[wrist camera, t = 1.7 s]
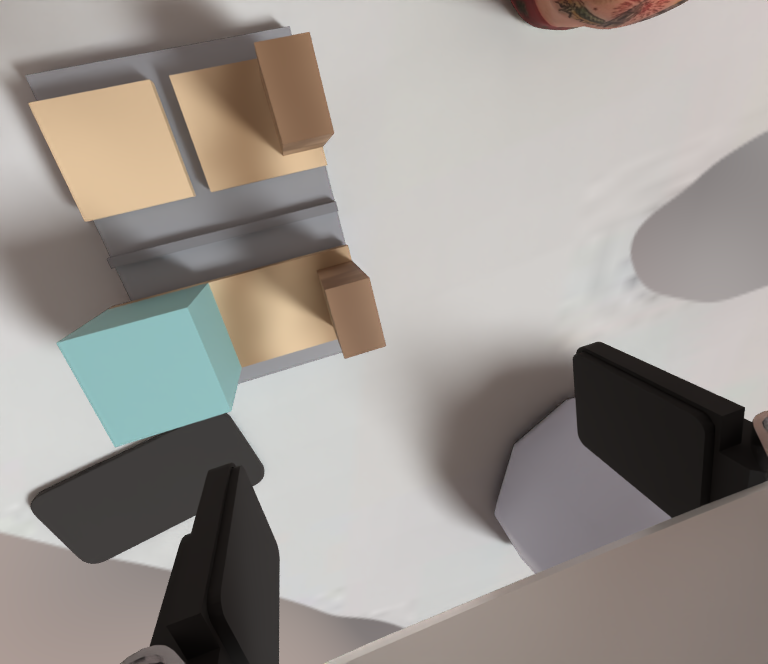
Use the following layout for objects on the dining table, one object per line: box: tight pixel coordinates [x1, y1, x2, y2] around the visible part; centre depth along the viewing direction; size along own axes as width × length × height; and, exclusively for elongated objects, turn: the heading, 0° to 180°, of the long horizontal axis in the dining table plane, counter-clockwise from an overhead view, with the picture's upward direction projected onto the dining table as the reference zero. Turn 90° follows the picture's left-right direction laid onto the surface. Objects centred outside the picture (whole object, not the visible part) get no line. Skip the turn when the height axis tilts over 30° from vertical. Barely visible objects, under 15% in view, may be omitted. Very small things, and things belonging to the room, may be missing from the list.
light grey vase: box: [494, 398, 671, 574], centre depth 32 cm, size 20×20×19 cm
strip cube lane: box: [109, 245, 386, 367], centre depth 24 cm, size 15×6×7 cm, turn 103°
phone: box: [31, 413, 264, 564], centre depth 31 cm, size 7×1×15 cm
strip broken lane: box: [169, 32, 334, 192], centre depth 21 cm, size 7×6×7 cm
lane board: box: [25, 26, 346, 384], centre depth 26 cm, size 14×20×2 cm
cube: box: [57, 283, 242, 447], centre depth 23 cm, size 6×6×6 cm
